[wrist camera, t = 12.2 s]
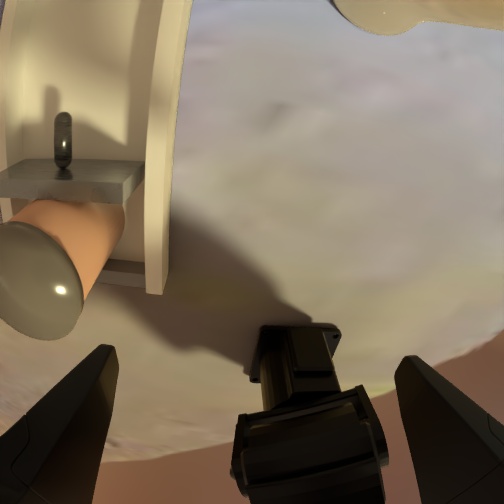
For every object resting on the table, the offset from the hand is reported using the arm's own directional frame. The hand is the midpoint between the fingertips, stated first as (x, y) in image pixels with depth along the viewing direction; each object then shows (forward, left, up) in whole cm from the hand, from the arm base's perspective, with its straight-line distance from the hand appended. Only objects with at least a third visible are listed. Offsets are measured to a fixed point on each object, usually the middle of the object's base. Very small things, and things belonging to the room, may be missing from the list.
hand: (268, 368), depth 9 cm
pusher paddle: (+4, +10, -11) cm, 15 cm away
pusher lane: (+5, +10, -12) cm, 16 cm away
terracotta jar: (-1, +10, -11) cm, 15 cm away
